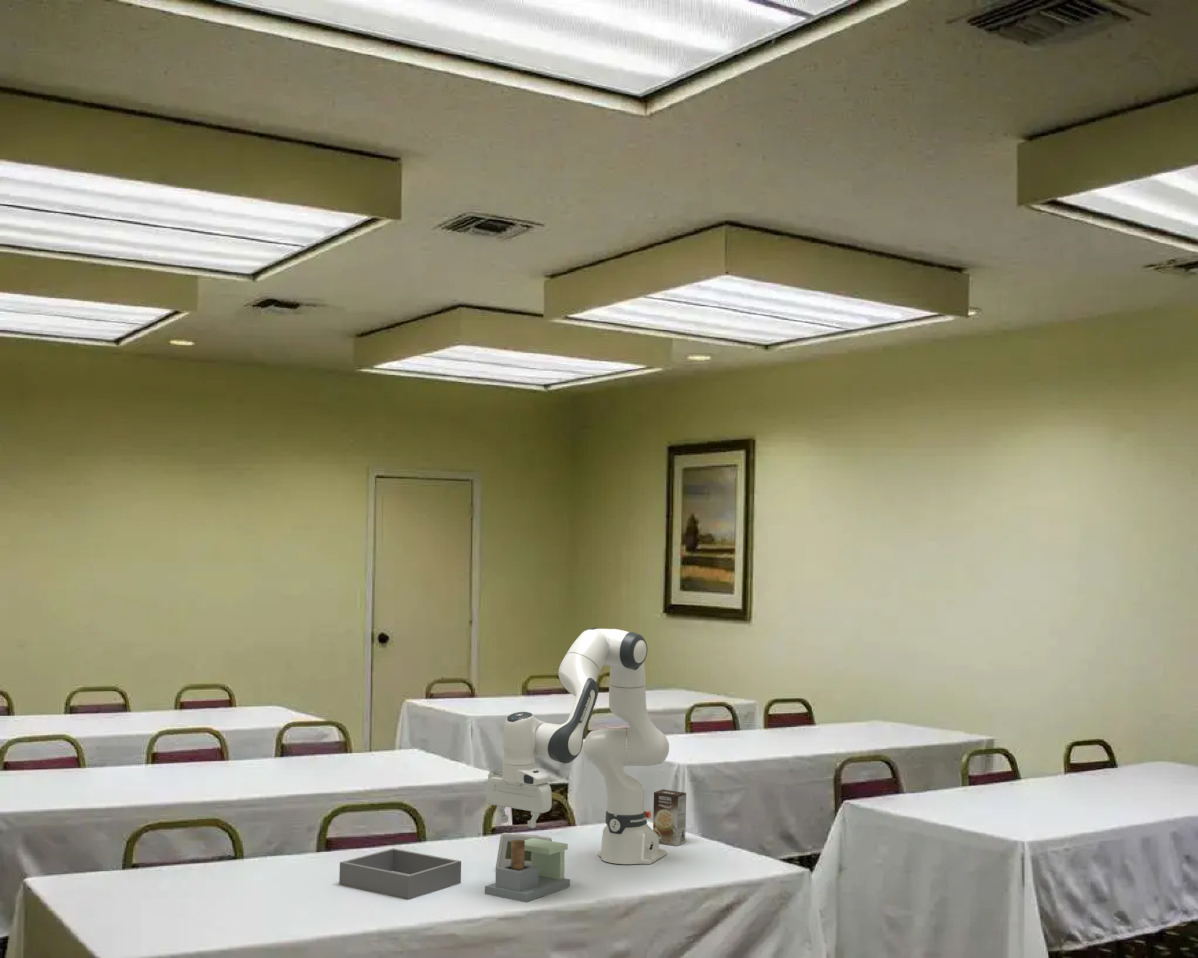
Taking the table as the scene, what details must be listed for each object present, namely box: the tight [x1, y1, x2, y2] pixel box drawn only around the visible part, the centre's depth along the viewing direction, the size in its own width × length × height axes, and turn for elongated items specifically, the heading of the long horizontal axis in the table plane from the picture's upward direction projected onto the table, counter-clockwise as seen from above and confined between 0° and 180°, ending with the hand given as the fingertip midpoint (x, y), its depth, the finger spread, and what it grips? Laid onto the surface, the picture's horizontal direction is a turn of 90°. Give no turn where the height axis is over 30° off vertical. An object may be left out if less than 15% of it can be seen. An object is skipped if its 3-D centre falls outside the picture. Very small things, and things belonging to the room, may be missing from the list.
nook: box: [484, 838, 571, 903], centre depth 351 cm, size 20×14×12 cm
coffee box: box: [652, 788, 687, 847], centre depth 412 cm, size 9×6×16 cm
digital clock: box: [495, 832, 553, 869], centre depth 370 cm, size 16×9×11 cm, turn 58°
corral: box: [338, 847, 462, 900], centre depth 355 cm, size 21×25×6 cm
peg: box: [511, 840, 525, 871], centre depth 347 cm, size 4×4×12 cm
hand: (517, 824), depth 348 cm, fingers open, 8 cm apart
